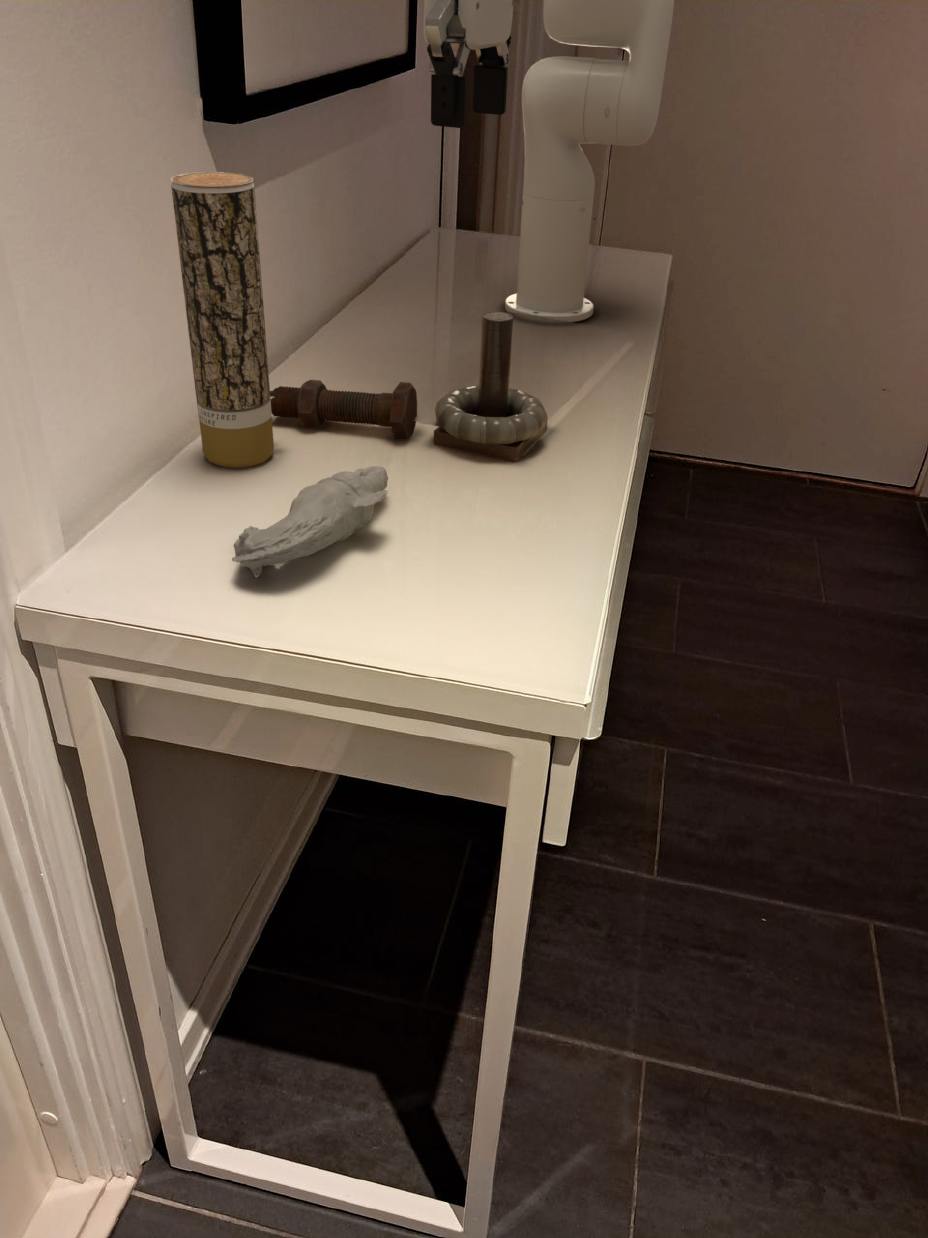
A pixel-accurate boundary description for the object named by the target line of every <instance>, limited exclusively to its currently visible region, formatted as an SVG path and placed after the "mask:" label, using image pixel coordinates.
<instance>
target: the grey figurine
mask: <svg viewBox="0 0 928 1238" xmlns="http://www.w3.org/2000/svg"><path fill="white" fill-rule="evenodd" d="M388 480H389V475H388V473H387V469H386V468H385V467H384V466H380V465H370V466H367V467H365V468H357V469H356V470H355V471H347V470H345V471H339V472H337V473H334V474H333V475H332V476H328V477H326V478H323V479H321V480H319V481H317V482H316V483H315V484H312V485H308V486H305V487H303V488H302V489H301V490H300V491H299V492H298V494H297V496H296V497H295V498H293V500H292V501H291V504H290V507H289V511H288V514H287V515H286V516H285V517H284V518H283V517H282V518H281V519H280V520H278V521H277V522H275V523H274V524H272V525H270V526H268V527H266V528H261V529H260V528H258V527H255V526H252V525H249V526H248V527H247V528H244V529H243V532H242V533H240V534H239V535H238V538H237V539H236V541H235V542H234V543H233V548H234V555H235V556H233V557H232V558H231V561H232V562H235V563H240V565H241V567H244V568H249V569H250V571H251V572H252V573H253V576H254V578H257V577H258V576H260V575H261V573H262V571H263V567H265V566H272V565H273V566H274V565H278V564H283V563H286V562H289V561H293V560H294V559H295V560H296V559H299V558H300V559H301V558H304V557H308V556H311V555H313V554H315V553H317V552H319V551H321V550H323V549H325V548H327V547H329V546H330V545H333V544H337V543H340V542H342V541H344V540H347V539H348V538H349V537H350V536H351V535H353V534H355V533H356V532H357V531H359V530H360V529H362V527H363V526H364V525H366V524H368V523H369V521H370V520H372V518H373V515H374V508H375V505H376V504H377V503H379V502H382V501H384V499H385V497H386V496H387V495H388V492H389V490H387V487H388V482H389V481H388Z"/></svg>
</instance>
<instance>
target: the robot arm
mask: <svg viewBox="0 0 928 1238" xmlns="http://www.w3.org/2000/svg"><path fill="white" fill-rule="evenodd" d="M674 6H675V0H543V6H542V7H543V8H542V9H543V10H542V11H543V12H542V15H543V16H542V18H543V19H542V20H543V21H542V22H543V26H544V31H545V32H546V34H547V36H548V37H549V38H550V39H552V40H553V41H554V42H555V41H556V42H557V43H561V44H566V45H573V46H583V47H584V46H585V47H597V48H598V47H600V48H612V49H613V48H615V49H616V48H617V49H623V50H625V51H627V52H628V54H629V60H622V59H621V60H620V59H604V58H597V57H586V56H585V57H583V56H566V55H563V56H559V55H558V56H557V55H556V56H549V57H545V58H542V59H539V60H538V61H536V62H535V63H533V64H532V65H530V67H529V69H528V70H527V72H526V74H525V76H524V78H523V82H522V88H521V109H522V111H521V112H522V121H523V133H524V134H523V135H524V139H523V140H524V168H523V186H522V187H523V188H522V200H521V216H520V217H521V218H520V231H519V235H520V236H519V250H518V265H517V281H516V293H513V294H511V295H508V297H506V299H505V300H504V309H505V311H506V313H511V314H517V315H518V314H519V315H525V316H530V317H537V318H544V319H549V320H556V321H562V322H568V323H576V322H581V321H584V320H587V319H589V318H591V317H592V316H593V314H594V309H595V306H594V304H593V302H592V301H590V300H589V299H587V298H585V297H584V296H585V288H586V278H587V270H588V269H587V268H588V259H589V258H588V257H589V249H590V239H591V229H592V218H593V208H594V198H595V189H596V179H595V174H594V170H593V167H592V165H591V163H590V162H589V160H588V157H587V156H586V155H585V152H584V151H583V148H582V147H581V145H580V144H595V145H596V144H597V145H609V146H619V147H620V146H622V147H637V146H641V145H644V144H645V143H647V142H649V140H650V139H651V138H652V136H653V134H654V132H655V130H656V125H657V123H658V118H659V114H660V107H661V100H662V95H663V94H662V93H663V88H664V80H665V75H666V74H665V73H666V66H667V60H668V52H669V46H670V38H671V32H672V24H673V17H674ZM513 20H514V0H424V2H423V39H424V42H425V43H426V44H427V47H426V51H427V53H428V54H427V55H428V56H429V59H430V61H429V66H428V71H429V75H430V80H431V81H430V88H431V89H430V123H431V125H433V126H434V127H445V128H453V129H454V128H455V129H462V128H465V127H466V125H467V108H468V107H467V106H468V76H464V71H465V69H466V66H467V62H468V58H469V55H470V52H471V50H473V51H475V54H476V58H477V62H478V64H474V65H473V92H472V95H473V96H472V97H473V98H472V111H473V112H474V113H476V114H487V115H495V116H502V115H504V114H505V113H506V110H507V92H508V73H509V70H508V69H509V68H508V66H509V64H510V52H509V47H510V46H511V45H510V44H511V43H512V41H511V40H512V36H511V33H512V26H513ZM455 52H456V53H455Z"/></svg>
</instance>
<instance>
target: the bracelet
mask: <svg viewBox="0 0 928 1238" xmlns="http://www.w3.org/2000/svg"><path fill="white" fill-rule="evenodd" d="M478 399H479V385H471V386H467V387H462V388H459V389H453V390H451V391H450V392H448V393H447V394H445V395H444V396H443V397H441V398H440V399H439V400H438V401H436V404H435V407H434V414H435V419H436V424H437V425H438V427H440V428H441V429H442V430H444V431H446V432H447V433H449V434H451V435H452V436H454V437H456V438H458V439H461V440H465V441H470V442H475V443H479V444H512V443H516V442H519V441H523V440H527V439H528V440H529V439H530V438H533V437H534V436H535V435H536V434H537V433H538V432H539V431H540V430H541V429H542V428H543V427H544V426H545V425H546V423H547V424H548V420H547V417H548V413H547V411H546V409H545V407H544V404H543V403H542V401H541V400H540V399H539V398H538V397H536V396H533V395H531V394H529V393H528V392H526V391H523V390H521V389H516V388H511V387H509V393H508V409H507V414H512V415H513V416H509V417H482V416H477V415H473V414H468V413H471V412H475V411H478ZM528 440H527V441H528Z"/></svg>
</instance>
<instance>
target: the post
mask: <svg viewBox="0 0 928 1238" xmlns="http://www.w3.org/2000/svg"><path fill="white" fill-rule="evenodd" d="M513 327H514V316H513V315H512V314H510V313H508V312H500V311H490V312H485V313H484V314H482V316H481V336H480V355H479V356H480V359H479V378H478V379H479V380H478V386H479V399H478V411H475V412H471V413H468V414H473V415H477V416H482V417H509V416H513V415H512V414H507V409H508V393H509V388H510V375H511V358H512V344H513ZM548 419H549V418H548V416H547V421H548ZM547 430H548V422H547V423H546V425H545V426H544V427H543V428H542V429H541V430H540V431H539V432H538V433H537V434H536V435H535V436H534V437H533V438H530V439H527V440H523V441H519V442H516V443H512V444H479V443H475V442H470V441H465V440H461V439H458V438H456V437H454V436H452V435H451V434H449V433H447V432H446V431H444V430H442V429H441V428H440V427H439V426H438V427H436V428H435V429H434V430H433V445H436V446H440V447H444V448H449V449H454V450H457V451H463V452H468V453H473V454H477V455H482V456H487V457H490V458H491V457H492V458H495V459H500V460H506V461H511V462H515V463H516V462H517V461H518V460H519V459H520V458H521V457H522V456H523V455H524V454H526V452H527V451H529V450H530V448H531V447H532V446H533V445H534V444H535V443H536V442H537V441H538V440H539V439H540V438H541V437H542V436H543V435H544V434H545V433H546V432H547Z"/></svg>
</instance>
